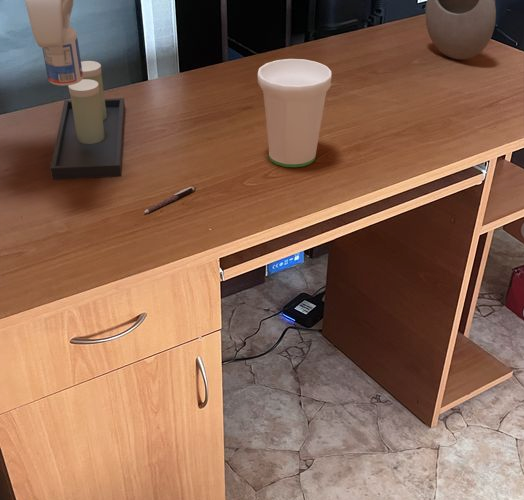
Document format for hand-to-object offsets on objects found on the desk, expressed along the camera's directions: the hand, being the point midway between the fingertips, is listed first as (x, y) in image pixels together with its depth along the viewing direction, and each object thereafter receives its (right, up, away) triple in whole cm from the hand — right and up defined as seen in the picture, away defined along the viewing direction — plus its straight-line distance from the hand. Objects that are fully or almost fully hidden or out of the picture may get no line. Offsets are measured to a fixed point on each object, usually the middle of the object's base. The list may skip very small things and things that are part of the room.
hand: (61, 56), depth 120 cm
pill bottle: (0, -3, +3) cm, 4 cm away
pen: (+16, -21, +8) cm, 27 cm away
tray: (-1, -6, +25) cm, 26 cm away
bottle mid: (-1, -6, +25) cm, 25 cm away
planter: (+74, +21, +58) cm, 97 cm away
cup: (+36, -10, +21) cm, 43 cm away
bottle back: (-2, 0, +31) cm, 31 cm away
